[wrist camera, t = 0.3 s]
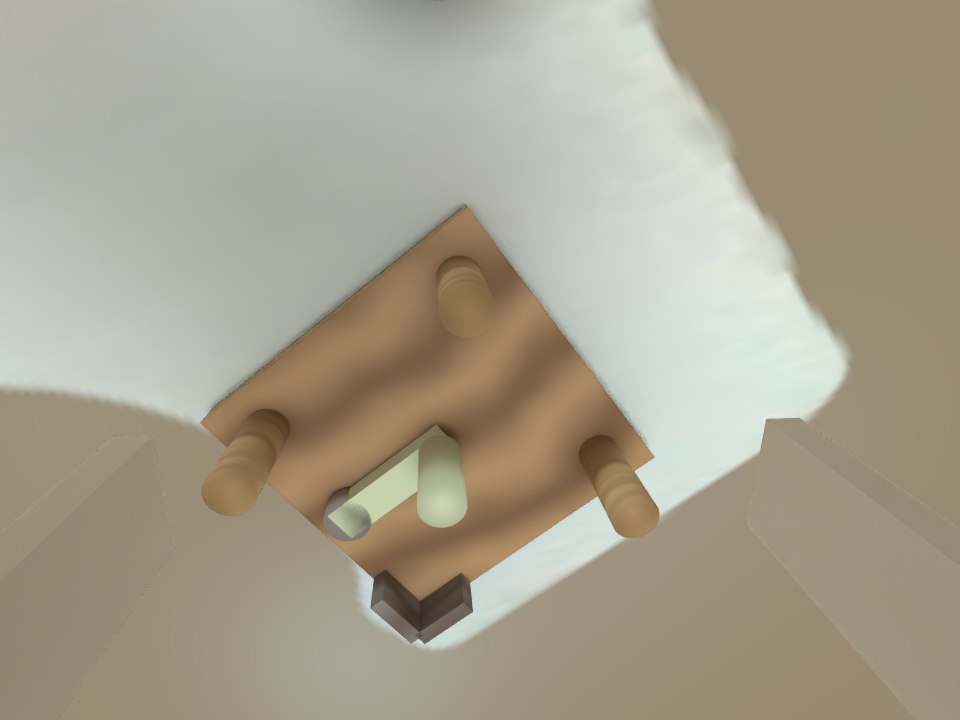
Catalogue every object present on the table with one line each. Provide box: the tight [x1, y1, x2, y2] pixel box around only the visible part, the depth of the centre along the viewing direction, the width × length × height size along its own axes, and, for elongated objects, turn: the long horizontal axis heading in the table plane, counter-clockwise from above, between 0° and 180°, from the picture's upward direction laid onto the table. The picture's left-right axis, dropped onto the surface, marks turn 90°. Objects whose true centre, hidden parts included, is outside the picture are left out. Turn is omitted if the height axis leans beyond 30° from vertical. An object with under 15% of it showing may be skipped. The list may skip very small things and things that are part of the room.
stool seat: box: [200, 205, 659, 644], centre depth 35 cm, size 22×22×10 cm
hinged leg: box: [323, 424, 467, 541], centre depth 35 cm, size 11×3×7 cm, turn 127°
